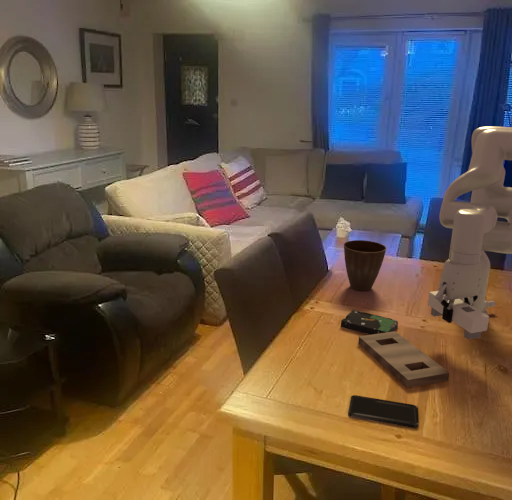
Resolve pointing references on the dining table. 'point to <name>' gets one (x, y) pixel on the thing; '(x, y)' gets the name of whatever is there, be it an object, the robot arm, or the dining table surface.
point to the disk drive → (368, 323)
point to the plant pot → (363, 263)
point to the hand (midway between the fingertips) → (455, 318)
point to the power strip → (462, 316)
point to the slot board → (403, 359)
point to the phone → (384, 411)
